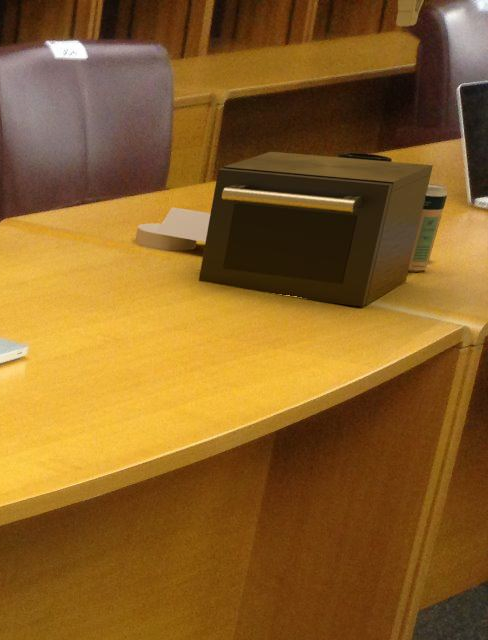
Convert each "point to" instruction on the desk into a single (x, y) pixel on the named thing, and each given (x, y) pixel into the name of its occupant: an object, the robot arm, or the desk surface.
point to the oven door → (295, 234)
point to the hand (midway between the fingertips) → (405, 25)
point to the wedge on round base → (175, 230)
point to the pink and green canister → (428, 227)
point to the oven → (400, 210)
